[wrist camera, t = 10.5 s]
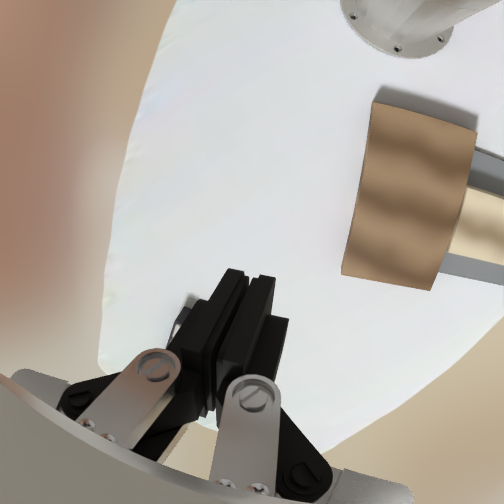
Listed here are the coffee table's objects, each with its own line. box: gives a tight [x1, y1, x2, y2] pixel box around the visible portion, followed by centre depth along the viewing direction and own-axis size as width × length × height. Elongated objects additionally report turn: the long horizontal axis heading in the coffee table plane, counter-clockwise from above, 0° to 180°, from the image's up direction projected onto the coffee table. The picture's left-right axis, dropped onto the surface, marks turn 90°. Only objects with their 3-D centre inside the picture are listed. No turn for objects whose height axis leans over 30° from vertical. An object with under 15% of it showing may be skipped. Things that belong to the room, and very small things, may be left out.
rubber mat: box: [438, 150, 504, 286], centre depth 29 cm, size 16×13×1 cm
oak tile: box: [446, 184, 504, 265], centre depth 28 cm, size 8×10×2 cm
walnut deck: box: [341, 102, 477, 291], centre depth 30 cm, size 20×12×2 cm, turn 176°
